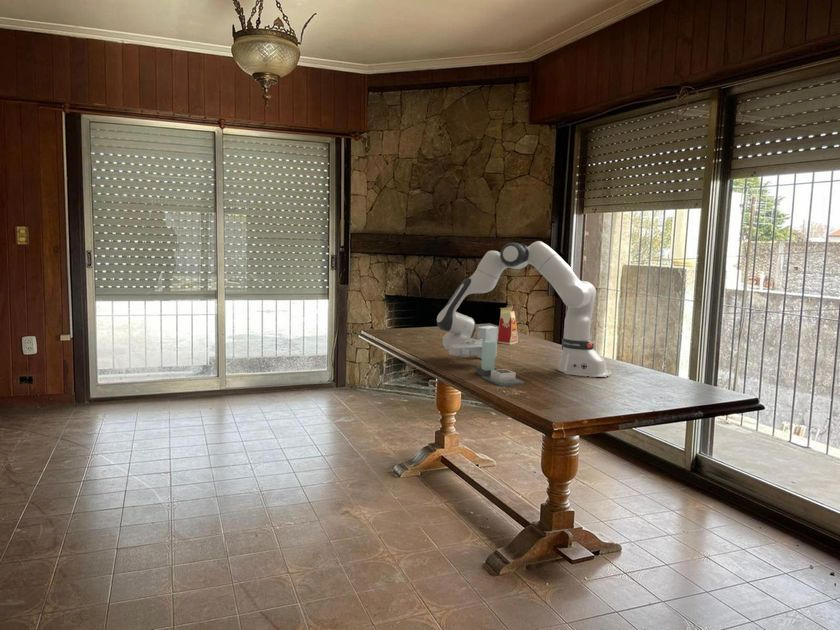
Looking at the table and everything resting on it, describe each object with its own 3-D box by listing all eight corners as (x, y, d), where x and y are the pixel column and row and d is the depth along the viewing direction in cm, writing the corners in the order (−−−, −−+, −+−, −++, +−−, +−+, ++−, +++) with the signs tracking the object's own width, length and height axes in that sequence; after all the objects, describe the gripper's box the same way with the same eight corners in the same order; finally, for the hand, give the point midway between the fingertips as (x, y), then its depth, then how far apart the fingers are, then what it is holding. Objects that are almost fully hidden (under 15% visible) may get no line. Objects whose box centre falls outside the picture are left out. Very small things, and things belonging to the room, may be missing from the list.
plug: (481, 373, 266) (482, 340, 264) (489, 373, 267) (490, 340, 265) (485, 376, 262) (487, 342, 260) (494, 375, 264) (495, 342, 262)
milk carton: (517, 342, 345) (519, 305, 343) (510, 344, 338) (512, 307, 335) (502, 340, 350) (504, 304, 347) (495, 342, 342) (496, 305, 340)
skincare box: (488, 355, 305) (489, 325, 303) (497, 357, 301) (498, 326, 299) (475, 357, 300) (476, 326, 298) (484, 359, 295) (486, 328, 294)
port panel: (482, 378, 258) (482, 368, 257) (505, 376, 262) (505, 366, 262) (499, 386, 245) (500, 376, 245) (524, 384, 250) (524, 374, 249)
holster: (475, 373, 266) (476, 367, 266) (490, 372, 269) (490, 366, 269) (484, 377, 260) (484, 371, 260) (499, 375, 263) (499, 370, 263)
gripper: (443, 340, 279) (458, 346, 266) (484, 338, 287) (500, 344, 274) (443, 355, 279) (457, 361, 267) (483, 352, 288) (499, 358, 275)
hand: (479, 352), depth 271 cm, fingers open, 8 cm apart
